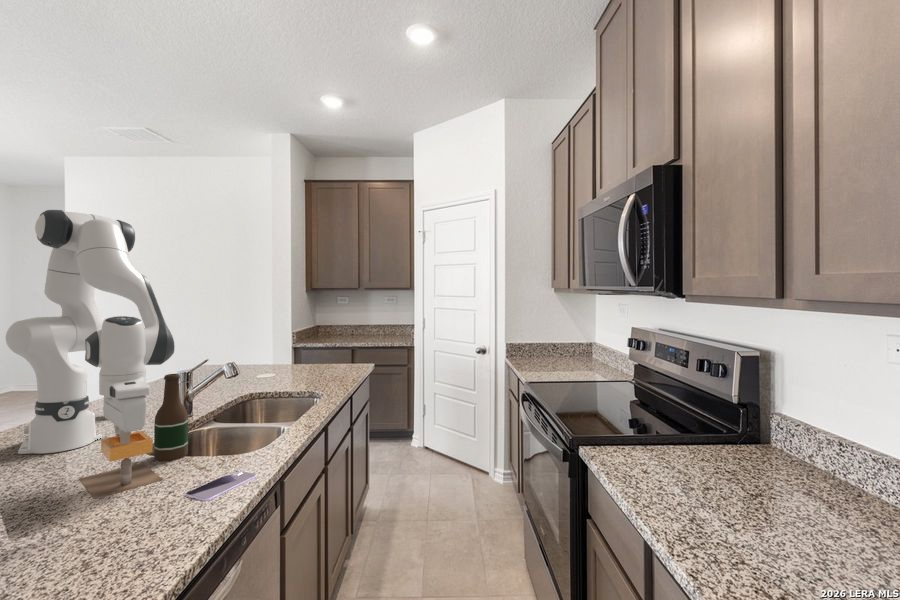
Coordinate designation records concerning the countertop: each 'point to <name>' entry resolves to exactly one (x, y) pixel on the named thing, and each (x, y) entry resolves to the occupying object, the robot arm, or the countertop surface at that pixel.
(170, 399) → the beer bottle
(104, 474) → the board
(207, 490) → the mobile phone
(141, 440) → the orange hollow square frame
